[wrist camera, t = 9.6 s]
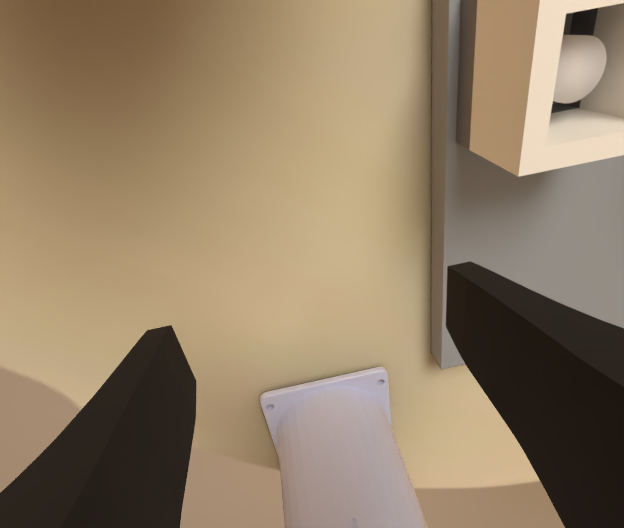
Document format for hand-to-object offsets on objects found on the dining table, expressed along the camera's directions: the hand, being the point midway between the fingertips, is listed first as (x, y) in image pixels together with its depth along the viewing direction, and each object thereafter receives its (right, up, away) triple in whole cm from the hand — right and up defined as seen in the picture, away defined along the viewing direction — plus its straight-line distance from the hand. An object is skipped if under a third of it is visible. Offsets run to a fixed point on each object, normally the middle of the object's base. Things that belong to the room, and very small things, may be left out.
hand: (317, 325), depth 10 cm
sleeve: (+8, +9, +5) cm, 13 cm away
